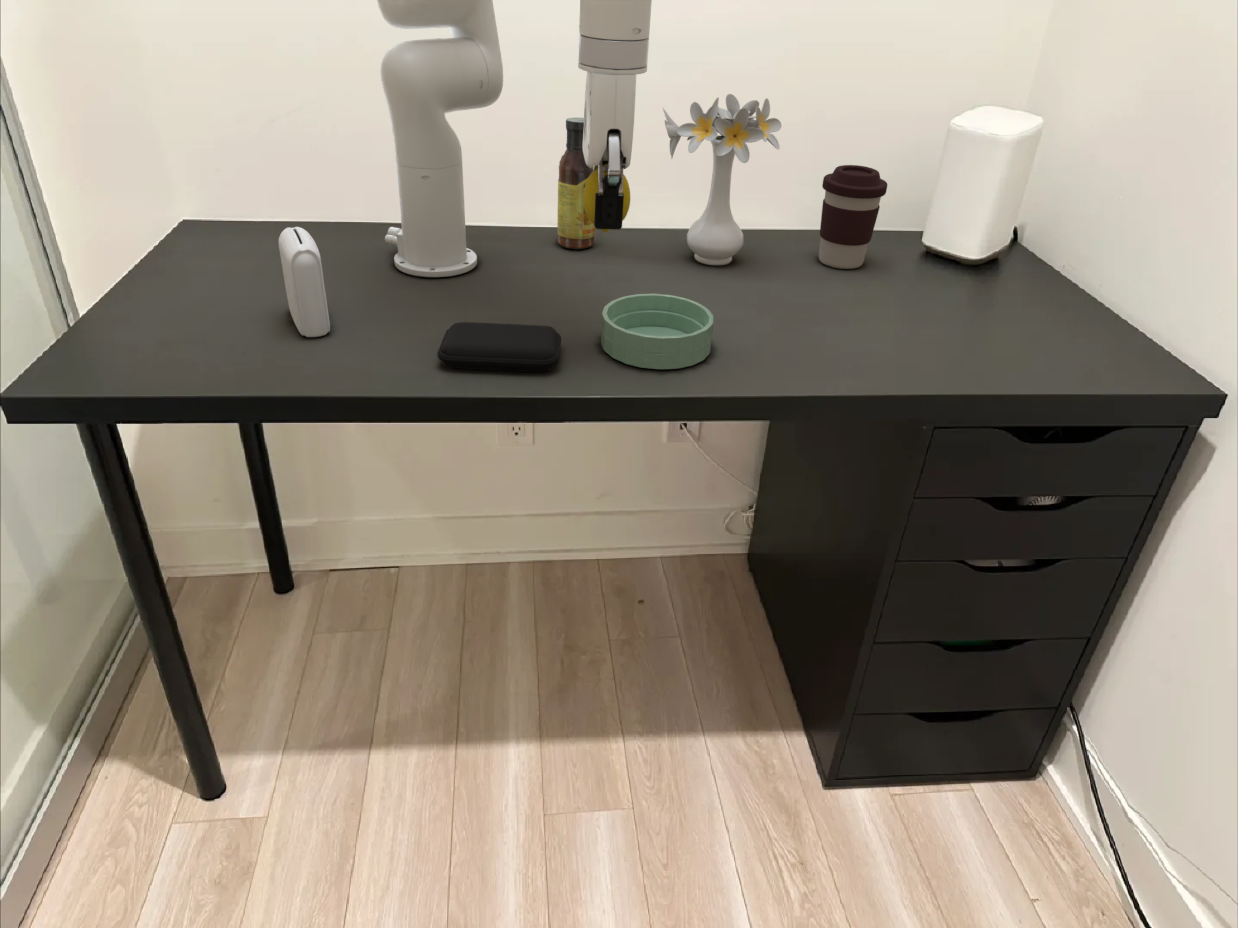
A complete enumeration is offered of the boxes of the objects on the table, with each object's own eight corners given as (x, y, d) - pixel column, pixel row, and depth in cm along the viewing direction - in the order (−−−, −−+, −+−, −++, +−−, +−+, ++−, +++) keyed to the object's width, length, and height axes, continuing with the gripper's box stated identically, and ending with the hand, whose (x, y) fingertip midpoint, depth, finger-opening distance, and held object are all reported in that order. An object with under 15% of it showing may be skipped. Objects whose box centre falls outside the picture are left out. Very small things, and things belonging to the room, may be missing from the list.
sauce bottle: (589, 252, 145) (593, 125, 135) (552, 248, 146) (553, 122, 136) (598, 240, 151) (602, 117, 140) (562, 236, 152) (564, 113, 141)
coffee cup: (879, 260, 149) (898, 169, 140) (858, 277, 141) (877, 182, 133) (823, 248, 153) (838, 158, 145) (800, 263, 146) (815, 170, 138)
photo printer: (287, 310, 120) (272, 220, 114) (319, 306, 122) (306, 217, 115) (299, 340, 113) (284, 246, 106) (334, 336, 114) (321, 242, 108)
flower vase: (645, 248, 149) (655, 88, 135) (750, 245, 152) (770, 89, 139) (664, 276, 138) (677, 106, 124) (776, 272, 141) (800, 106, 128)
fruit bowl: (582, 354, 113) (583, 322, 111) (629, 316, 124) (630, 286, 122) (685, 380, 108) (689, 347, 106) (725, 338, 119) (728, 307, 117)
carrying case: (562, 340, 117) (449, 335, 116) (562, 318, 115) (448, 313, 115) (557, 377, 108) (435, 371, 107) (557, 354, 106) (433, 348, 106)
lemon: (595, 241, 103) (598, 172, 99) (574, 227, 107) (576, 159, 103) (636, 236, 106) (641, 168, 101) (614, 222, 110) (618, 155, 105)
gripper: (574, 40, 103) (570, 197, 113) (583, 67, 88) (578, 243, 98) (638, 43, 104) (629, 198, 113) (658, 70, 89) (645, 245, 99)
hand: (605, 218), depth 106 cm, fingers closed on lemon, 5 cm apart
